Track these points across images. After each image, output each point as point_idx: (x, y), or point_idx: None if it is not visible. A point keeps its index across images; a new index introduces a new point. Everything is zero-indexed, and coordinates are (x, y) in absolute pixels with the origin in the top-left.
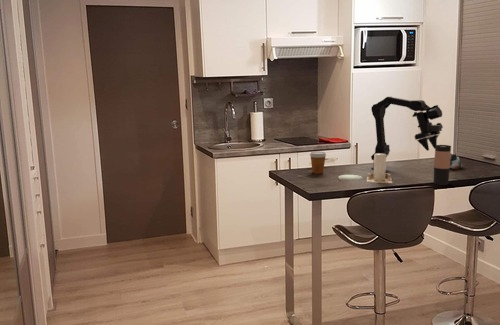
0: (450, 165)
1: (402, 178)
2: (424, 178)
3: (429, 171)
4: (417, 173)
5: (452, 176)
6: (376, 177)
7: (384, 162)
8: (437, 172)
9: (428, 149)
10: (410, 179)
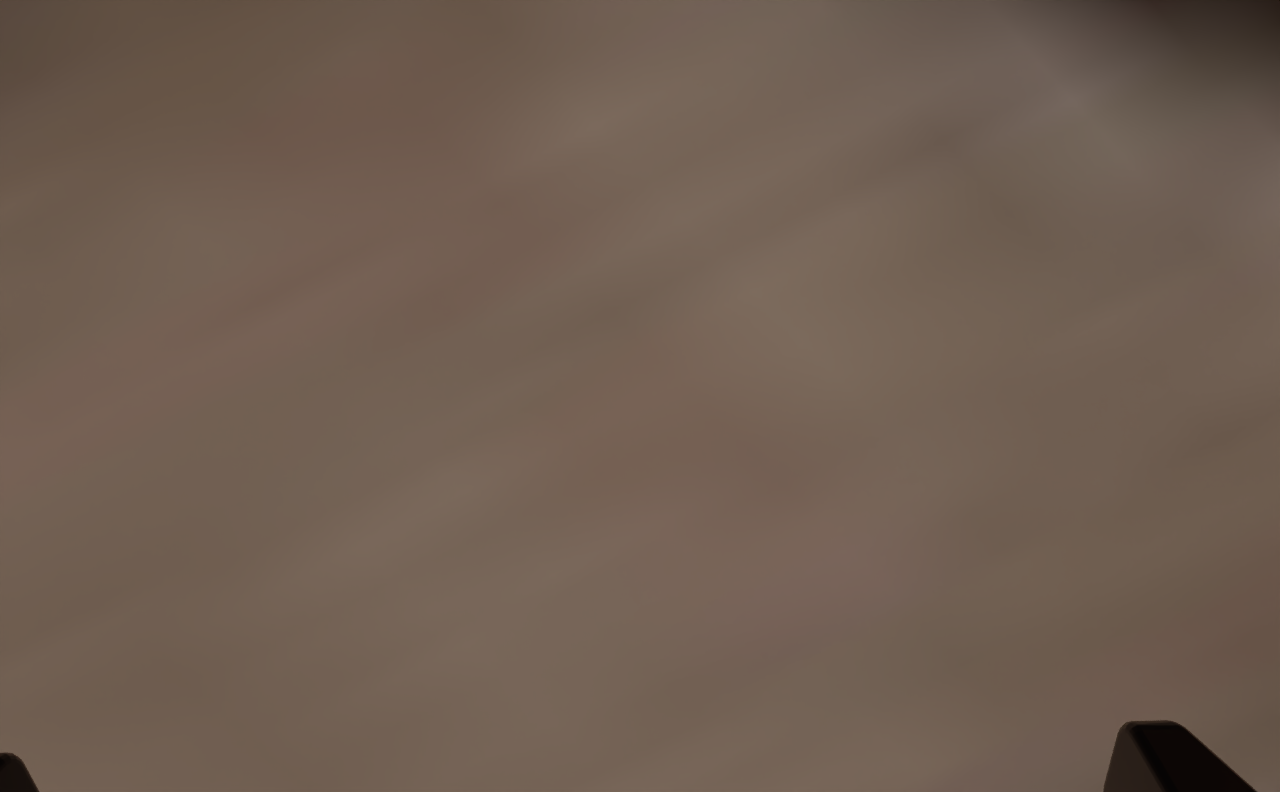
0: None
1: None
2: (872, 404)
3: (45, 697)
4: (464, 783)
5: (136, 5)
6: None
7: None
8: None
9: (1203, 750)
10: (1204, 584)
